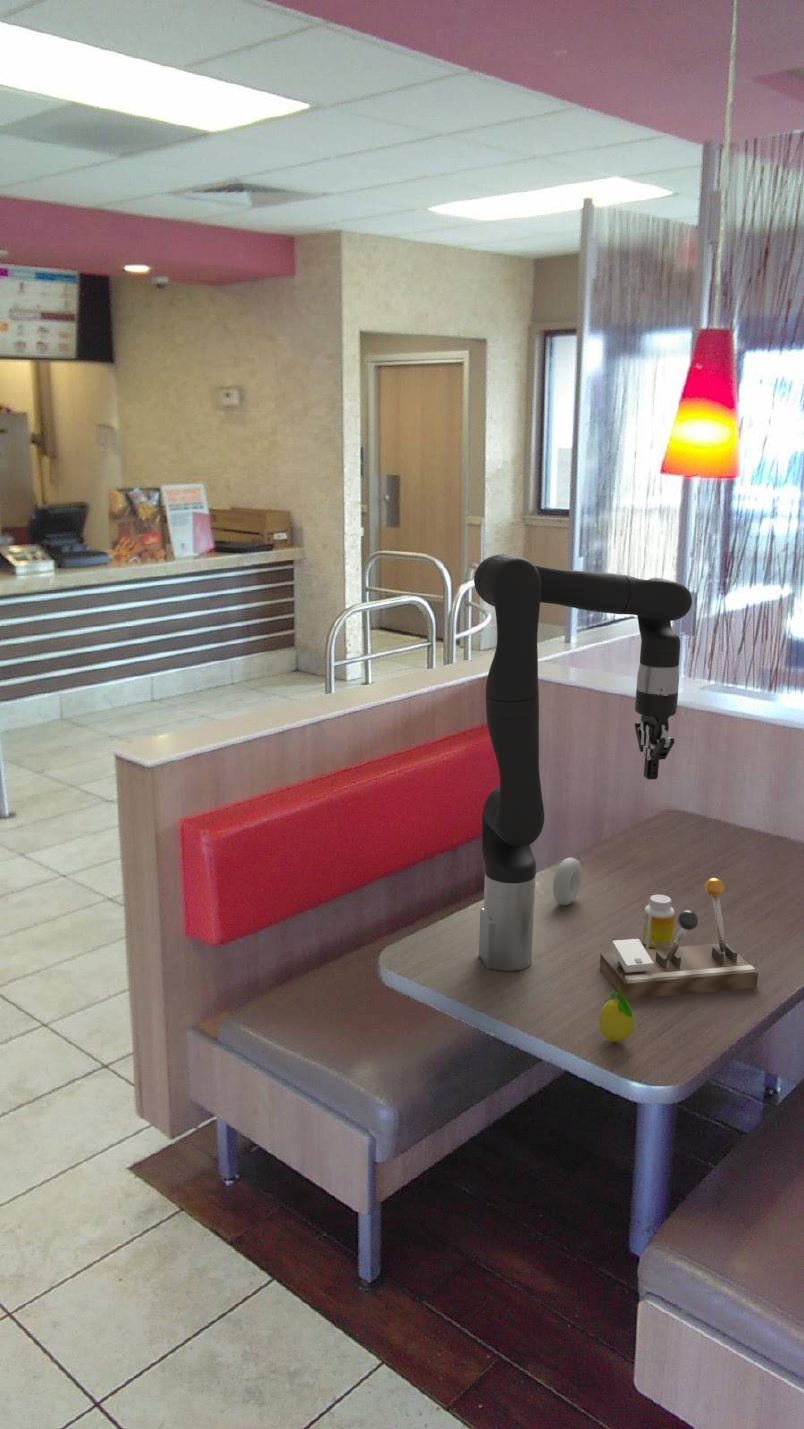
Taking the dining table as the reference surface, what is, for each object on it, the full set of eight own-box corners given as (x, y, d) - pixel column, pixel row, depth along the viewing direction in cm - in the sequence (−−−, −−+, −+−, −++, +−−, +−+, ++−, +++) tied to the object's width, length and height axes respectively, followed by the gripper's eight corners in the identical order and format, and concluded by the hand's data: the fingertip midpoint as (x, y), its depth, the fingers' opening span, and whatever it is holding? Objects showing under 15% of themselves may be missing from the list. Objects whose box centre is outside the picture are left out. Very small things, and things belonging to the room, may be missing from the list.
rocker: (625, 972, 197) (627, 964, 197) (611, 947, 204) (612, 940, 203) (652, 970, 198) (653, 962, 198) (637, 945, 205) (638, 937, 204)
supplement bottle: (678, 950, 214) (682, 901, 212) (655, 957, 212) (659, 906, 209) (658, 939, 219) (661, 890, 217) (636, 945, 216) (639, 896, 214)
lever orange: (719, 952, 203) (708, 877, 206) (710, 953, 206) (700, 879, 209) (736, 950, 204) (725, 876, 207) (727, 951, 207) (717, 878, 210)
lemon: (629, 1056, 178) (634, 999, 175) (593, 1048, 180) (597, 991, 177) (638, 1036, 184) (642, 981, 181) (602, 1028, 186) (606, 973, 183)
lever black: (663, 967, 200) (685, 922, 191) (657, 951, 203) (678, 906, 194) (681, 965, 201) (703, 921, 192) (674, 949, 203) (696, 905, 194)
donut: (564, 913, 230) (566, 868, 228) (548, 909, 232) (551, 864, 229) (583, 897, 238) (585, 853, 236) (568, 893, 240) (570, 849, 238)
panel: (625, 999, 196) (626, 974, 194) (599, 968, 207) (601, 944, 206) (756, 987, 201) (759, 963, 199) (724, 957, 212) (726, 934, 211)
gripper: (624, 681, 212) (618, 768, 216) (653, 696, 199) (646, 790, 204) (661, 679, 213) (654, 767, 218) (692, 695, 201) (684, 788, 205)
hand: (650, 778), depth 211 cm, fingers closed
